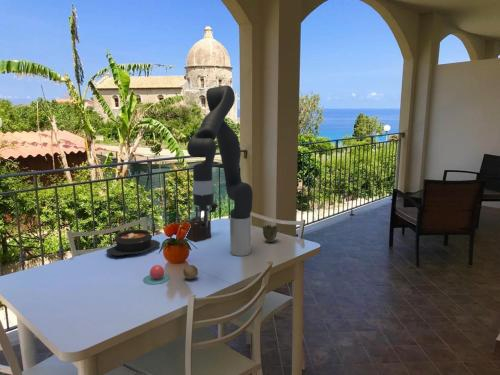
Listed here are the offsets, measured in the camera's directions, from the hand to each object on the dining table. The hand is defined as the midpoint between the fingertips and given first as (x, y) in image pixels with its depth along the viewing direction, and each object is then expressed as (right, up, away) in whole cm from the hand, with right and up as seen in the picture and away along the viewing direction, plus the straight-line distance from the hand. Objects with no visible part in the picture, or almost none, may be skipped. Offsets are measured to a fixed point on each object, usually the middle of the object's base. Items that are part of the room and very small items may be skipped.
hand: (204, 236), depth 147 cm
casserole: (-37, -11, +34) cm, 52 cm away
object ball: (-19, -14, +2) cm, 23 cm away
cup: (+27, -9, +46) cm, 55 cm away
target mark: (-19, -17, +2) cm, 25 cm away
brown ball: (-6, -14, +2) cm, 15 cm away
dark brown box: (-8, -7, +55) cm, 56 cm away
